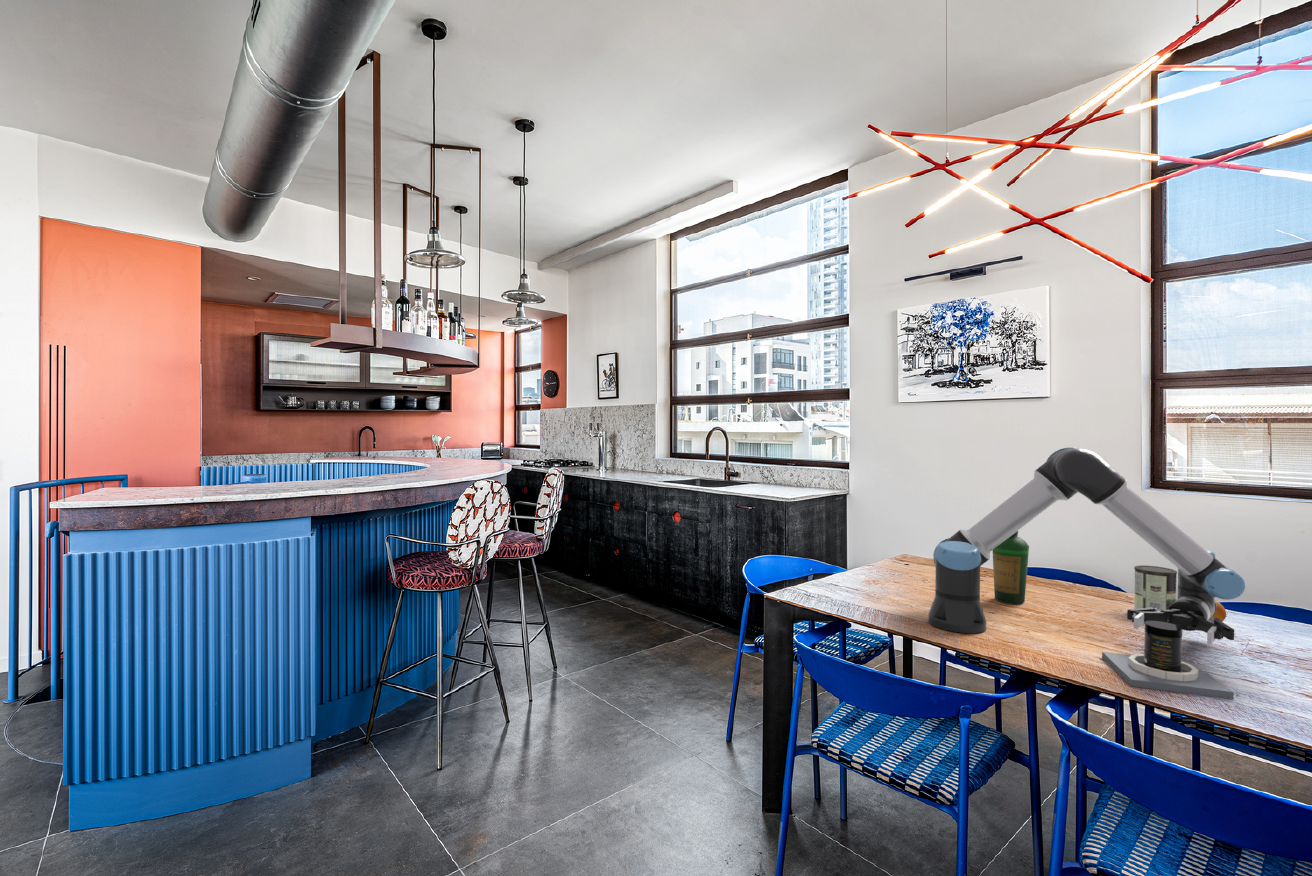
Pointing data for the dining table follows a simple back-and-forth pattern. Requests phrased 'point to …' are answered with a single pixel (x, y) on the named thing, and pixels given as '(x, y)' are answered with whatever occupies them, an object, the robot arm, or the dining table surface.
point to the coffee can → (1154, 587)
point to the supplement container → (1163, 646)
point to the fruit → (1219, 612)
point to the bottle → (1010, 570)
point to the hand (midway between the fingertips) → (1171, 630)
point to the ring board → (1166, 676)
